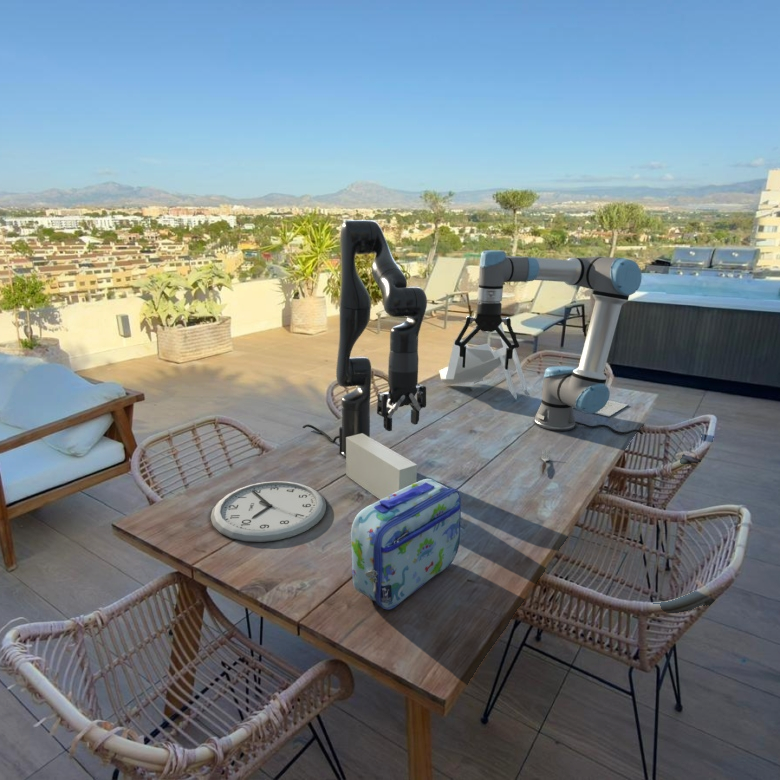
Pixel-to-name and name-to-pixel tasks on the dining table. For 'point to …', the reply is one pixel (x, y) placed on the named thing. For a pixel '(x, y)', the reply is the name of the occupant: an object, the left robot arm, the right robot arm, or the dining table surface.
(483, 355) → the white plastic object
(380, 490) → the box
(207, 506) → the dining table surface
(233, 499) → the wall clock
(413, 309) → the left robot arm
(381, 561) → the lunch box
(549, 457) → the fork
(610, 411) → the invitation card
